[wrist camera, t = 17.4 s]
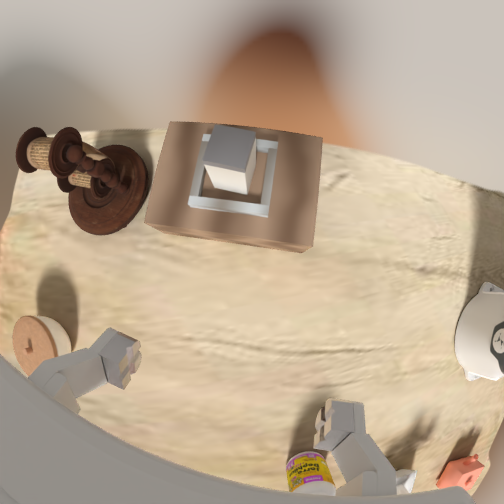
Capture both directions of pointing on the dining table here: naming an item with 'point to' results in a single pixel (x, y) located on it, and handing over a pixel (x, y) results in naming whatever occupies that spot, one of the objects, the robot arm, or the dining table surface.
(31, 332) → the lidded jar
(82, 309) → the dining table surface
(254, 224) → the block
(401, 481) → the figurine
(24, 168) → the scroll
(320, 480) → the supplement bottle
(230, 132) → the grey white rectangular block
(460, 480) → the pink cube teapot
